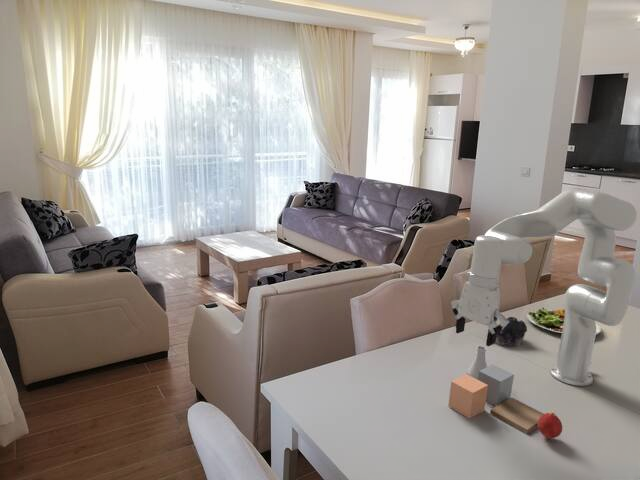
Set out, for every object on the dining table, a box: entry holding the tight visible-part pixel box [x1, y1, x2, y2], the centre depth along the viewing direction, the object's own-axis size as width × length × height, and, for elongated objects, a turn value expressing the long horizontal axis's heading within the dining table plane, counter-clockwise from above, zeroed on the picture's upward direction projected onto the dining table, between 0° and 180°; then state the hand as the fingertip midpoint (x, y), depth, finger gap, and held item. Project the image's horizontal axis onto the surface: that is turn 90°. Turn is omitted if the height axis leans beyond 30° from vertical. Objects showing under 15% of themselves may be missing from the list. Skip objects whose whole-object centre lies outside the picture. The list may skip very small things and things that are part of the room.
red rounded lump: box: [537, 411, 563, 440], centre depth 125 cm, size 6×6×8 cm
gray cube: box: [478, 364, 515, 407], centre depth 143 cm, size 7×7×8 cm
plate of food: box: [525, 307, 602, 335], centre depth 198 cm, size 28×28×6 cm
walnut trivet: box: [489, 397, 545, 435], centre depth 134 cm, size 11×11×1 cm
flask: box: [465, 345, 488, 380], centre depth 154 cm, size 7×7×10 cm
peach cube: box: [448, 373, 488, 420], centre depth 136 cm, size 7×7×8 cm
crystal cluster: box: [487, 316, 528, 347], centre depth 182 cm, size 13×14×10 cm
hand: (474, 338), depth 134 cm, fingers open, 9 cm apart
